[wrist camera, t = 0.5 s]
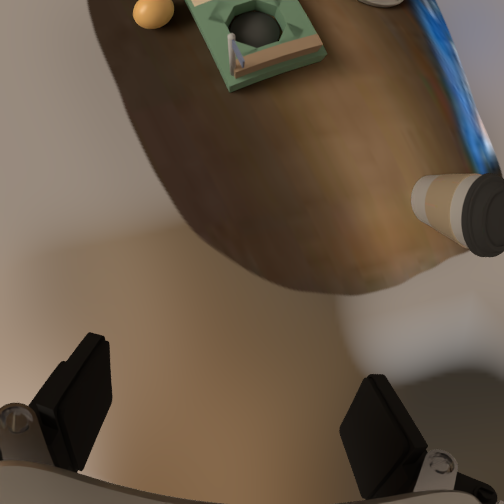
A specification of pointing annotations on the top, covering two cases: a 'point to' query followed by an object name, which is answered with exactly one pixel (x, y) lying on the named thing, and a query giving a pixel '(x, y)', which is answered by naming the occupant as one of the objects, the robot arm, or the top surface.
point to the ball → (153, 13)
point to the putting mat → (256, 38)
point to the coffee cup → (463, 209)
